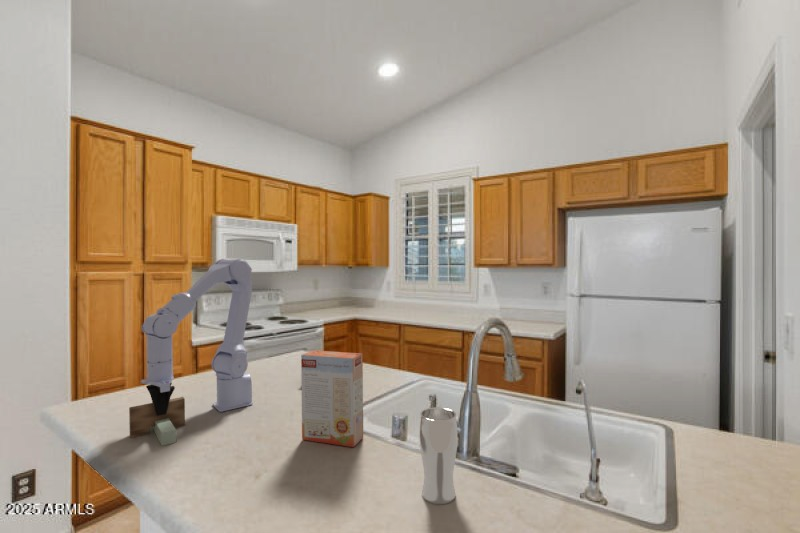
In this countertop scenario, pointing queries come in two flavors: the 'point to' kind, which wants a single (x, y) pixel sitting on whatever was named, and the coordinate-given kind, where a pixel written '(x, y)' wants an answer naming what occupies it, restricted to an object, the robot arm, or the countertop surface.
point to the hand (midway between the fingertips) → (160, 413)
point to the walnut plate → (155, 416)
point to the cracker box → (332, 397)
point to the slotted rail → (165, 431)
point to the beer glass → (438, 453)
